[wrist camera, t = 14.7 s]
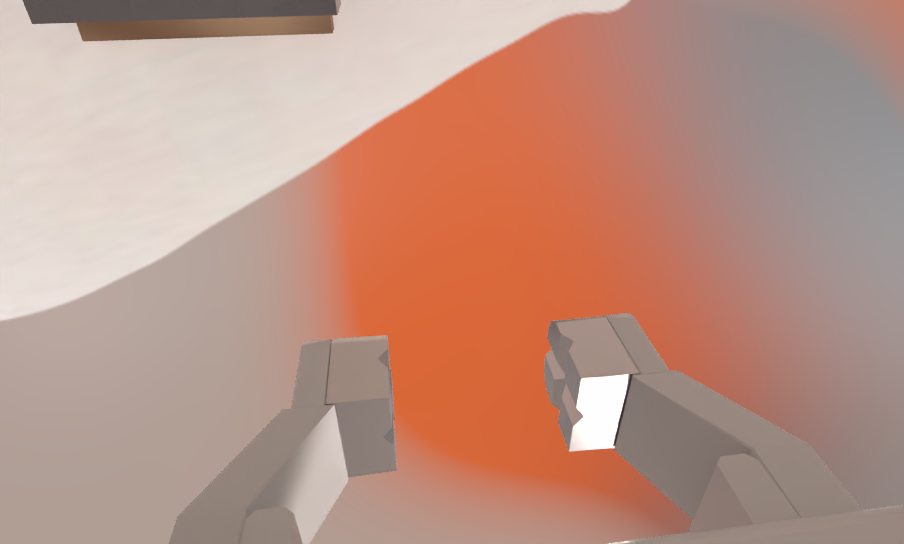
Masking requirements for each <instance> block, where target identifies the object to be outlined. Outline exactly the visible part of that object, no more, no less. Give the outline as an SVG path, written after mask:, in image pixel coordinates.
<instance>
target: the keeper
mask: <svg viewBox="0 0 904 544" xmlns="http://www.w3.org/2000/svg"><path fill="white" fill-rule="evenodd" d="M77 26H78V29H79V32H80V34H81V37H82V40H83V41H108V40H139V39H170V38H201V37H232V36H263V35H294V34H325V33H333V30H334V26H333V17H332V15H322V16H287V17H253V18H218V19H183V20H149V21H114V22H80V23H77Z"/></svg>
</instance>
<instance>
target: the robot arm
mask: <svg viewBox="0 0 904 544" xmlns="http://www.w3.org/2000/svg"><path fill="white" fill-rule="evenodd" d="M547 338H548V340H549V343H550V346H551V348H552V349H551V350H550V351H549V352H548V353H547V354H546V356H545V366H544V373H545V384H546V388H547V392H548V395H549V398H550V401H551V404H552V405H554V406H555V407H557V408H558V409H559V410H560V414H559V420H558V423H559V426H560V428H561V431H562V434H563V436H564V439H565V442H566V444H567V447H568V450H569V451H578V450H591V449H603V448H615V449H614V450H615V451H616V452H617V453H618V454H620V455H621V456H622V457H623V458H624V459H625V460H626V461H627V462H629V463H630V464H631V465H632V466H633V467H634V468H636V470H638V471H639V472H640V473H641V474H642V475H643V476H644V477H645V478H647V479H648V480H649V481H650V482H651V483H652V484H653V485H654V486H656V487H657V488H658V489H659V490H660V491H661V492H662V493H663V494H665V495H666V496H667V497H668V498H669V499H671V501H672V502H673V503H675V504H676V505H677V506H678V507H679V508H680V509H681V510H682V511H684V512H685V513H686V514H687V515H688V516H689V517H690V518H691V519H693V522H692V525H691V527H690V530H689V532H688V533H684V534H676V535H669V536H661V537H653V538H646V539H638V540H630V541H623V542H615V543H608V544H904V505H899V506H892V507H883V508H876V509H868V510H862V508H861V507H860V506H859V505H858V503H857V502H856V501H855V500H854V499H853V497H852V496H851V495H850V494H849V493H848V491H847V490H846V489H845V488H844V486H843V485H842V484H841V483H840V482H839V480H838V479H837V478H836V477H835V476H834V474H833V473H832V472H831V471H830V469H829V468H828V467H827V466H826V464H825V463H824V462H823V461H822V460H821V458H820V457H819V456H818V455H817V454H816V453H815V451H814V450H813V449H812V447H811V446H810V445H809V444H807V443H806V442H804V441H802V440H800V439H798V438H797V437H795V436H793V435H791V434H790V433H787V432H786V431H784V430H782V429H781V428H779V427H777V426H775V425H774V424H772V423H770V422H768V421H766V420H765V419H763V418H761V417H759V416H757V415H756V414H754V413H752V412H750V411H749V410H747V409H745V408H743V407H741V406H740V405H738V404H736V403H734V402H733V401H731V400H729V399H727V398H725V397H724V396H722V395H720V394H718V393H717V392H715V391H713V390H711V389H709V388H708V387H706V386H704V385H702V384H700V383H699V382H697V381H695V380H693V379H692V378H690V377H688V376H686V375H685V374H683V373H681V372H679V371H669V369H668V368H667V366H666V365H665V363H664V362H663V360H662V359H661V357H660V356H659V354H658V353H657V351H656V350H655V348H654V347H653V345H652V344H651V342H650V341H649V339H648V338H647V336H646V335H645V333H644V332H643V330H642V329H641V327H640V325H639V324H638V322H637V321H636V320H635V318H634V316H632V315H631V314H629V313H624V314H616V315H615V314H614V315H606V316H602V317H591V318H581V319H571V320H570V319H569V320H559V321H551V323H550V326H549V329H548V337H547ZM389 471H396V446H395V432H394V405H393V389H392V377H391V370H390V360H389V347H388V339H387V335H386V336H371V337H356V338H339V339H333V340H316V341H304V343H303V345H302V347H301V352H300V358H299V363H298V369H297V376H296V381H295V388H294V394H293V400H292V406H291V409H285V410H282V411H281V412H280V413H279V414H278V415H277V416H276V417H275V418H274V419H273V420H272V421H271V422H270V423H269V424H268V425H267V426H266V427H265V428H264V429H263V430H262V431H261V432H260V433H259V434H258V435H257V436H256V437H255V438H254V439H253V440H252V441H251V442H250V443H249V444H248V445H247V446H246V447H245V448H244V449H243V450H242V451H241V452H240V454H238V456H237V457H236V458H235V459H234V460H233V461H232V462H231V463H230V464H229V465H228V466H227V467H226V468H225V469H224V470H223V471H222V472H221V473H220V474H219V475H218V476H217V477H216V478H215V479H214V480H213V481H212V482H211V483H210V484H209V485H208V486H207V487H206V488H205V489H204V490H203V491H202V492H201V493H200V494H199V495H198V496H197V497H196V498H195V499H194V500H193V501H192V502H191V503H190V505H189V506H187V507H186V508H185V510H184V511H183V512H182V513H181V514H180V515H179V516H178V517H177V520H176V523H175V526H174V530H173V533H172V536H171V539H170V542H169V544H309V543H310V542H311V540H312V538H313V537H314V535H315V534H316V532H317V530H318V529H319V527H320V525H321V524H322V522H323V521H324V519H325V517H326V516H327V514H328V512H329V511H330V509H331V508H332V506H333V504H334V503H335V501H336V500H337V498H338V496H339V495H340V493H341V491H342V490H343V488H344V487H345V485H346V483H347V482H348V477H353V476H361V475H369V474H375V473H383V472H389Z"/></svg>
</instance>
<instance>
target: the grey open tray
mask: <svg viewBox="0 0 904 544" xmlns="http://www.w3.org/2000/svg"><path fill="white" fill-rule="evenodd" d="M23 2H24V5H25V7H26V10H27V12H28V15H29V17H30V19H31V22H32V24H45V23H80V22H114V21H149V20H183V19H218V18H253V17H287V16H322V15H337V14H338V11H339V8H340V5H341V2H340V0H23Z"/></svg>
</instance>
